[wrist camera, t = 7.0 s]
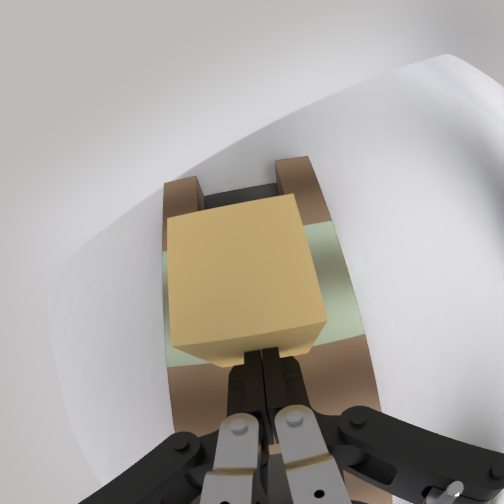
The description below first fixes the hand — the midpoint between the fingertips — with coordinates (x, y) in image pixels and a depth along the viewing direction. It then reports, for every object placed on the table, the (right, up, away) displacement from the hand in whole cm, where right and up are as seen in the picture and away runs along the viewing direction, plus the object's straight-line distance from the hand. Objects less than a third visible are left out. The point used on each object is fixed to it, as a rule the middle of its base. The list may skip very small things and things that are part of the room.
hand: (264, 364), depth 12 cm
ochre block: (0, +1, +5) cm, 5 cm away
